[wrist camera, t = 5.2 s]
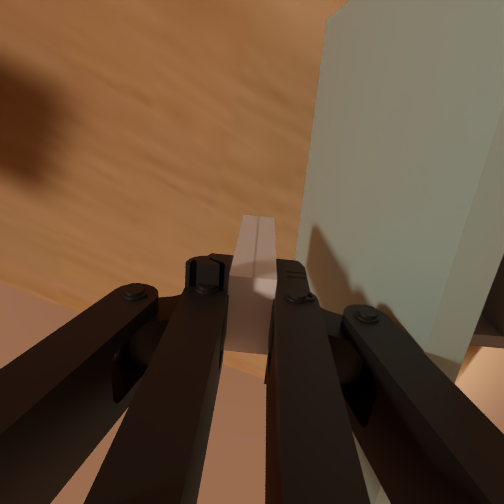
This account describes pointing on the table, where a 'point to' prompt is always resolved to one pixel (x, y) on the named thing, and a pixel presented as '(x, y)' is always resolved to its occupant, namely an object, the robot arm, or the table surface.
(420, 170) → the lid
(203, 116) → the table surface
